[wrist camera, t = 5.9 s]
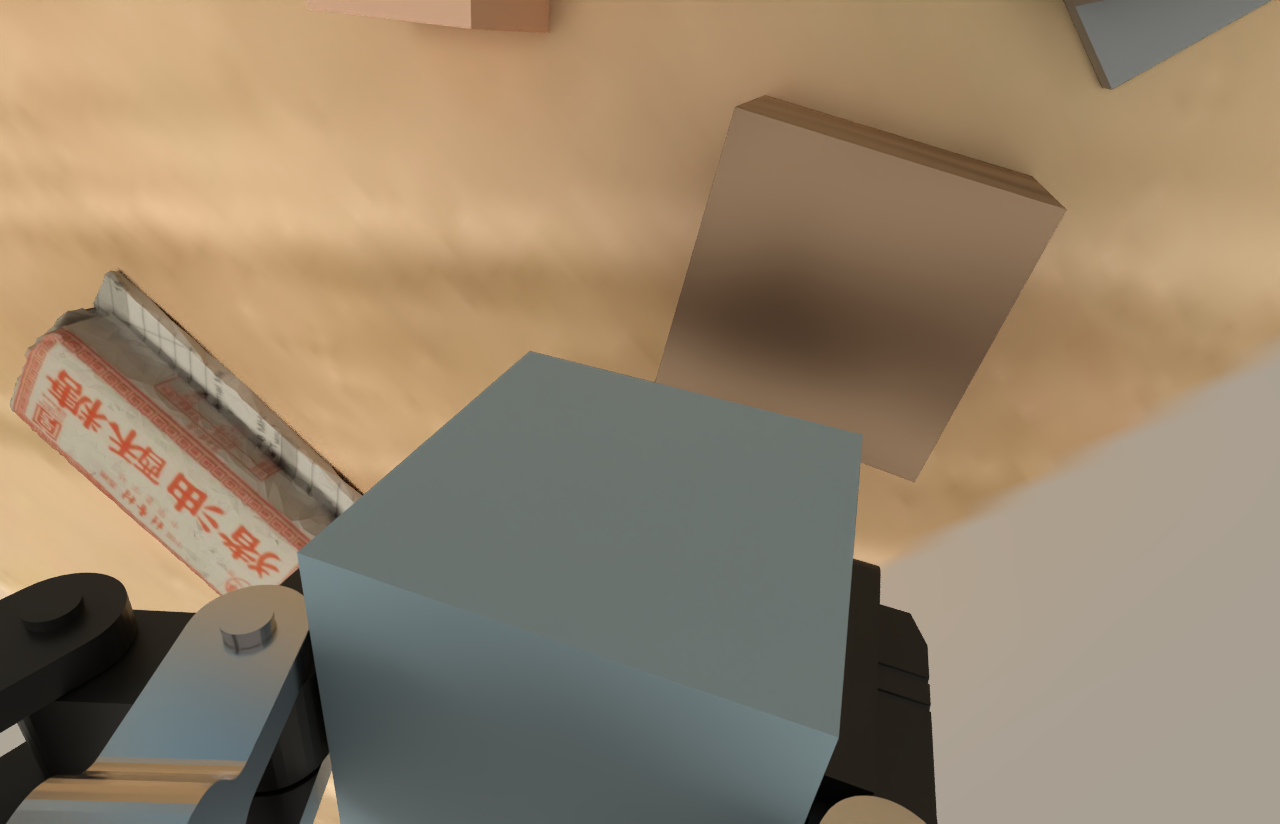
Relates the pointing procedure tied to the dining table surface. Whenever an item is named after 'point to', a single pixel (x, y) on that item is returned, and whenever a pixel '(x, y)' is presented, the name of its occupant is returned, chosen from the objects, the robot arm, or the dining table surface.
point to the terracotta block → (449, 12)
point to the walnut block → (851, 277)
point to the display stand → (1146, 31)
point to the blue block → (589, 611)
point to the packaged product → (177, 440)
